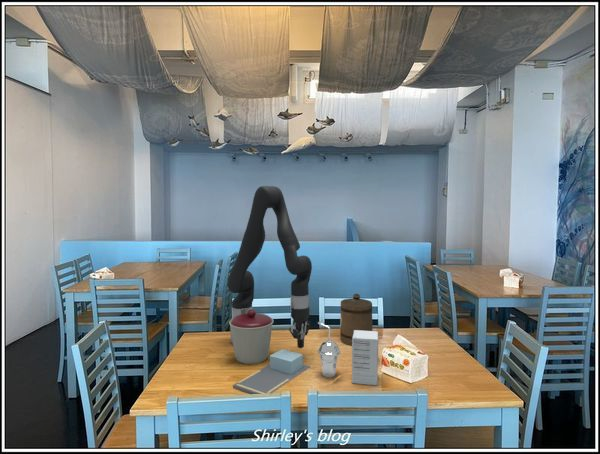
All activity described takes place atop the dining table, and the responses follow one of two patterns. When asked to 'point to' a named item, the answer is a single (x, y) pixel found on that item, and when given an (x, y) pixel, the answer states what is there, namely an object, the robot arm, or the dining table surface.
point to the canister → (251, 337)
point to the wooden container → (354, 317)
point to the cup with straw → (328, 356)
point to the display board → (266, 380)
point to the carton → (286, 361)
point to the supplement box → (365, 357)
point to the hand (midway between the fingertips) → (300, 347)
